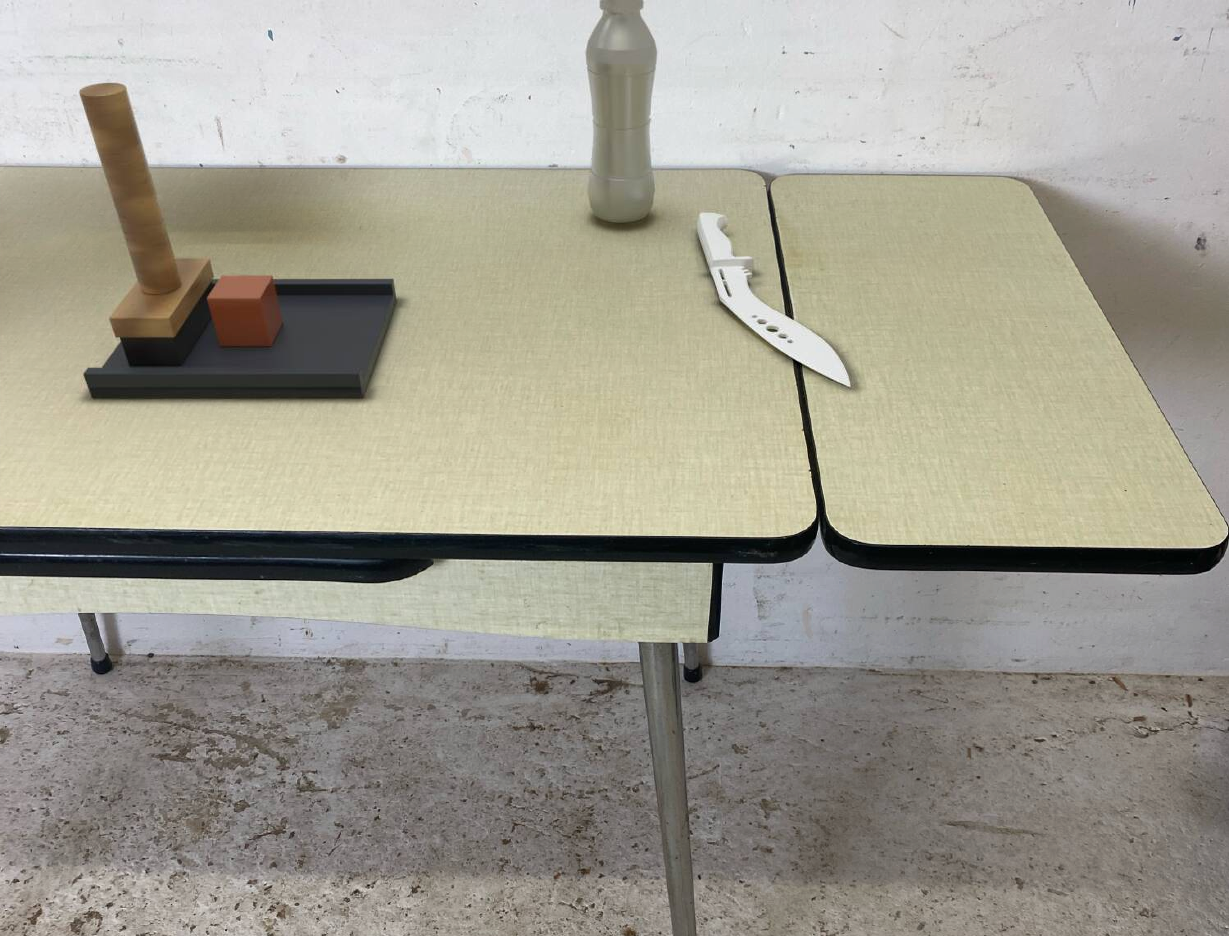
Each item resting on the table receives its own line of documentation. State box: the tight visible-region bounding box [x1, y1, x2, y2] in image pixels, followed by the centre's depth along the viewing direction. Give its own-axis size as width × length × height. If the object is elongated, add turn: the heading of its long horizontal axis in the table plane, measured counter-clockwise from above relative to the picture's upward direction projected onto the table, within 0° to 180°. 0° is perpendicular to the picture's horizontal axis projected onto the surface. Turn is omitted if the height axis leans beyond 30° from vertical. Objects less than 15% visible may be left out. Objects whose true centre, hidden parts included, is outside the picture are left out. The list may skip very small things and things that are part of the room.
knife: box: [695, 212, 851, 388], centre depth 90 cm, size 30×2×8 cm
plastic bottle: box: [585, 0, 658, 224], centre depth 98 cm, size 6×7×20 cm
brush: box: [78, 82, 215, 366], centre depth 78 cm, size 4×10×18 cm, turn 0°
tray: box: [82, 278, 398, 399], centre depth 84 cm, size 20×16×2 cm
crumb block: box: [207, 274, 283, 346], centre depth 83 cm, size 4×4×4 cm
